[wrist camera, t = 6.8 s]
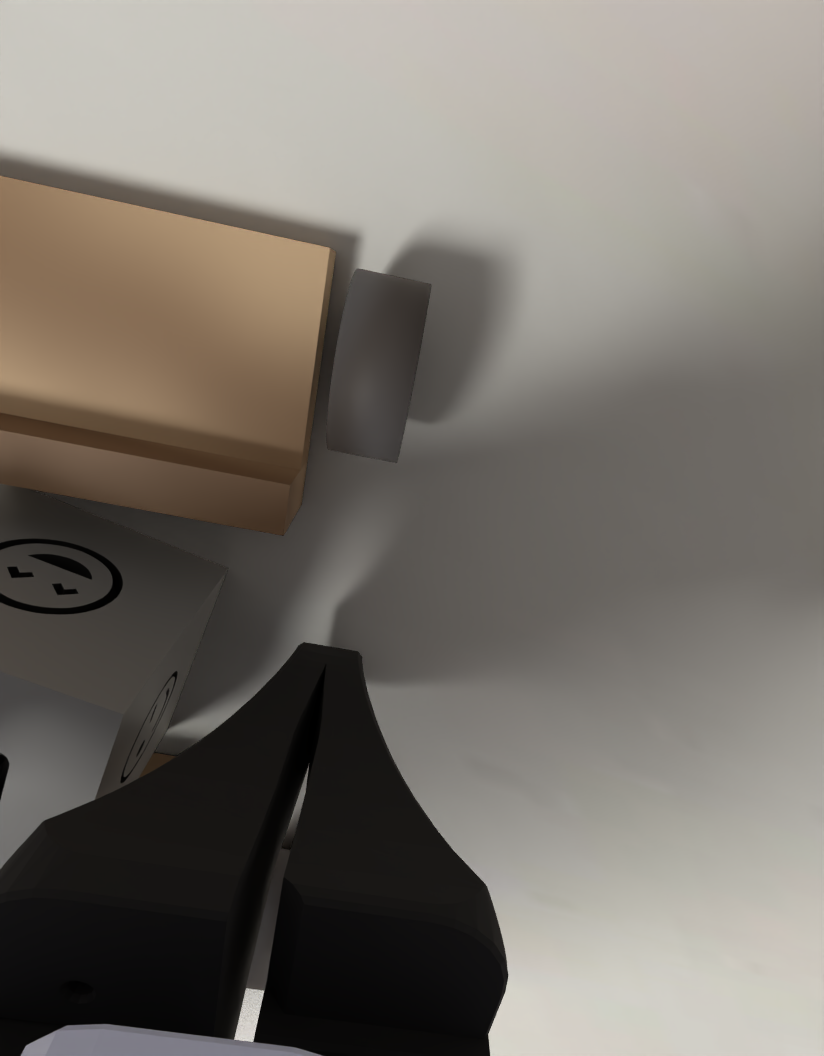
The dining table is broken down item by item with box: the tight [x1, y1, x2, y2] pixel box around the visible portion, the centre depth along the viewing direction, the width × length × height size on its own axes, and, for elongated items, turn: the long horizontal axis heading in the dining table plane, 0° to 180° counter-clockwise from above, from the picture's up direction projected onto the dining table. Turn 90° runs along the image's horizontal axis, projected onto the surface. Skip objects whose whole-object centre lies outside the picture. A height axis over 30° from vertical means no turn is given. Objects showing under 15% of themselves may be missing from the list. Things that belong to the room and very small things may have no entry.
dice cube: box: [0, 484, 228, 869], centre depth 11 cm, size 5×5×5 cm
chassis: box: [0, 176, 431, 990], centre depth 12 cm, size 18×12×3 cm
